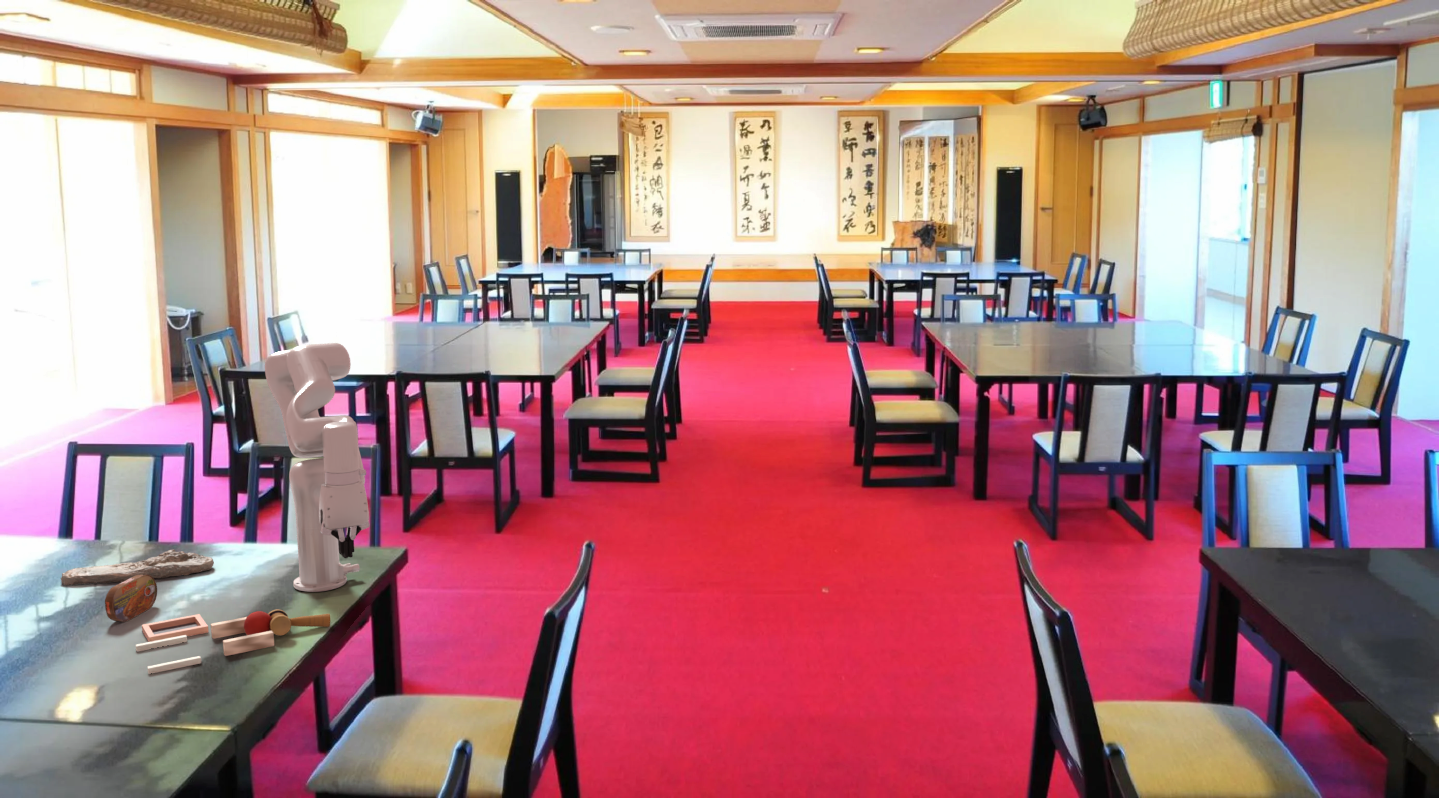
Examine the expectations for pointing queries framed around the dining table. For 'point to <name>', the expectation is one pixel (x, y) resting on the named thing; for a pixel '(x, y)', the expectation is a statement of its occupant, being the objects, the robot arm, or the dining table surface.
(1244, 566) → the dining table surface
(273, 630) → the kendama
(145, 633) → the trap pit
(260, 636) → the lane
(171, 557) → the elongated rock
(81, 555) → the dining table surface
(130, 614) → the tin
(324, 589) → the robot arm
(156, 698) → the dining table surface
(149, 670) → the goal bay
